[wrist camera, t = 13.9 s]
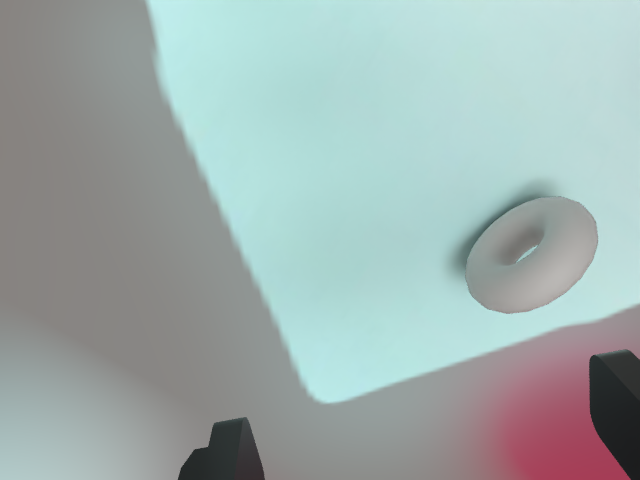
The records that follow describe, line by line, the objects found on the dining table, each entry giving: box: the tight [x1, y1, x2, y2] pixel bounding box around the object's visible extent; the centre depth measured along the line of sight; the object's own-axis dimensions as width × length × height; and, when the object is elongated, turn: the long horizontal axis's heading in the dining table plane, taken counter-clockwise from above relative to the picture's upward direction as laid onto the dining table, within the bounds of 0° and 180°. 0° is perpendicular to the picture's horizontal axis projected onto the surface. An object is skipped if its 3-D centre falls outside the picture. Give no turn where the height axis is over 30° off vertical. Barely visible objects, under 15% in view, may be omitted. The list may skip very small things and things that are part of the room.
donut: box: [465, 197, 598, 314], centre depth 39 cm, size 10×4×10 cm, turn 134°
